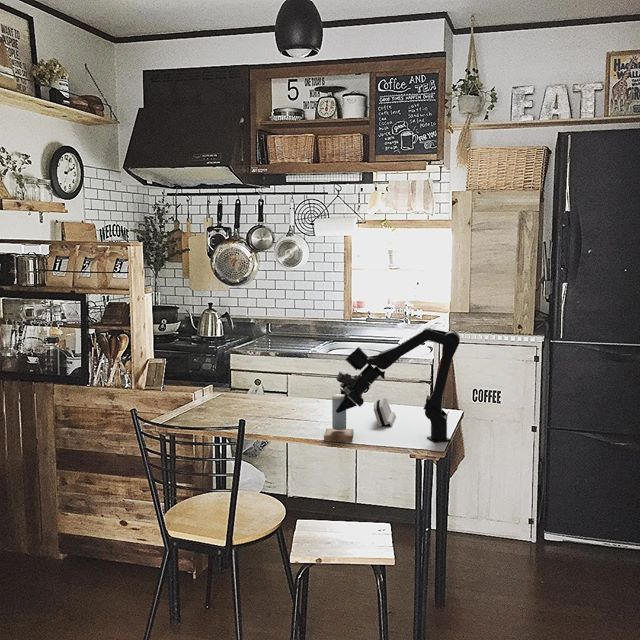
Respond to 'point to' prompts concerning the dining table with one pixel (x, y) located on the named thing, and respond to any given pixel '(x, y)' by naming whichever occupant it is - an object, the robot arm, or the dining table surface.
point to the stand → (338, 435)
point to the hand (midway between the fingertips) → (335, 410)
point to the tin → (338, 418)
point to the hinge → (383, 412)
